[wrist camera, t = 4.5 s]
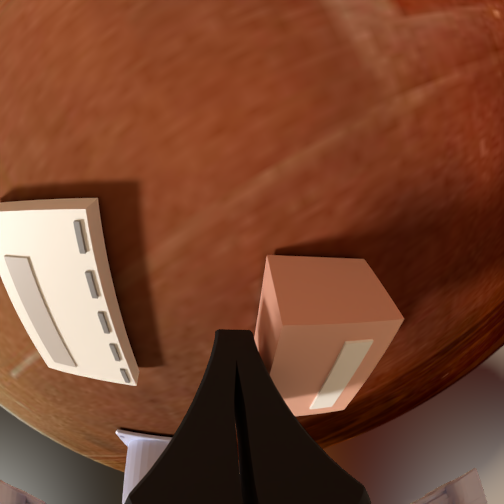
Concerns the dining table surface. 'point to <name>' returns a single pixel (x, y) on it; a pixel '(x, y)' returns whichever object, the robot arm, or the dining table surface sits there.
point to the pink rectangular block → (322, 329)
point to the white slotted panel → (65, 287)
